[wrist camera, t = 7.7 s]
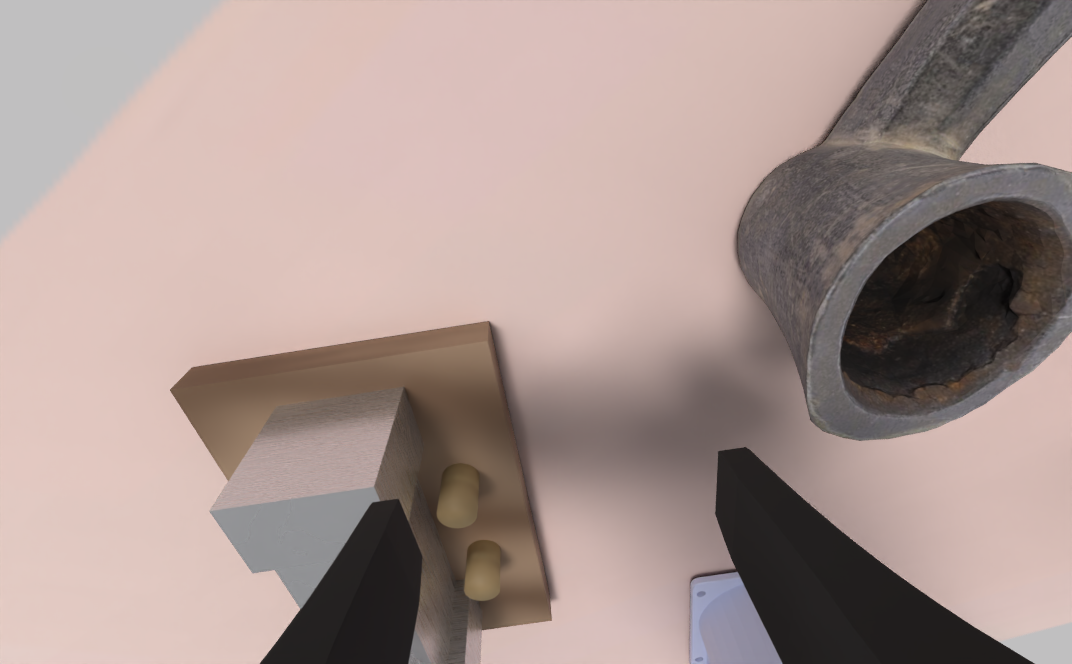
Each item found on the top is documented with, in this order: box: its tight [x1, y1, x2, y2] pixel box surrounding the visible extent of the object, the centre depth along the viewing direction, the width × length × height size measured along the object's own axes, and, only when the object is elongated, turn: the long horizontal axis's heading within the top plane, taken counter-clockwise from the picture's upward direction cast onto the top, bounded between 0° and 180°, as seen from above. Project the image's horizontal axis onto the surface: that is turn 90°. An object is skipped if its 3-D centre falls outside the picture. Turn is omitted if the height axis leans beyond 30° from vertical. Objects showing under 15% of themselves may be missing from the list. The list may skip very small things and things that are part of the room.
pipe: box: [738, 0, 1072, 441], centre depth 14 cm, size 6×13×8 cm, turn 155°
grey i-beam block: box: [210, 387, 482, 664], centre depth 21 cm, size 15×5×5 cm, turn 8°
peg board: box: [170, 321, 552, 630], centre depth 23 cm, size 18×12×4 cm, turn 8°
